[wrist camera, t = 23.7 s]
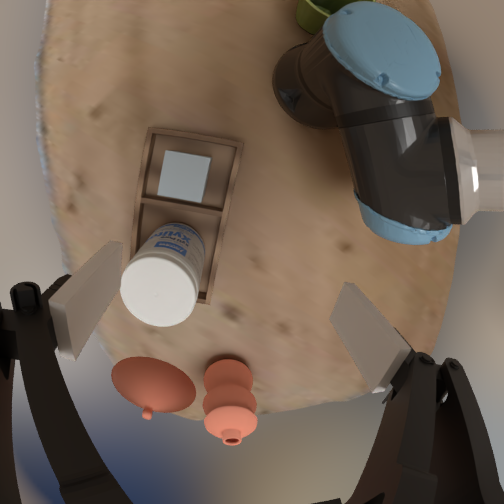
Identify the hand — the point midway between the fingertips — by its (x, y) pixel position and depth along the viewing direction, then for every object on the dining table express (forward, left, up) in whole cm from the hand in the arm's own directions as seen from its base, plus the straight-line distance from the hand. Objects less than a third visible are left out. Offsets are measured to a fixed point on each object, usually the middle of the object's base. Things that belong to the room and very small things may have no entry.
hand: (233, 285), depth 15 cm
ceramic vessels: (+41, -4, -29) cm, 51 cm away
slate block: (-3, -6, -28) cm, 29 cm away
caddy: (+4, -6, -29) cm, 30 cm away
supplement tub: (+9, -6, -28) cm, 30 cm away
